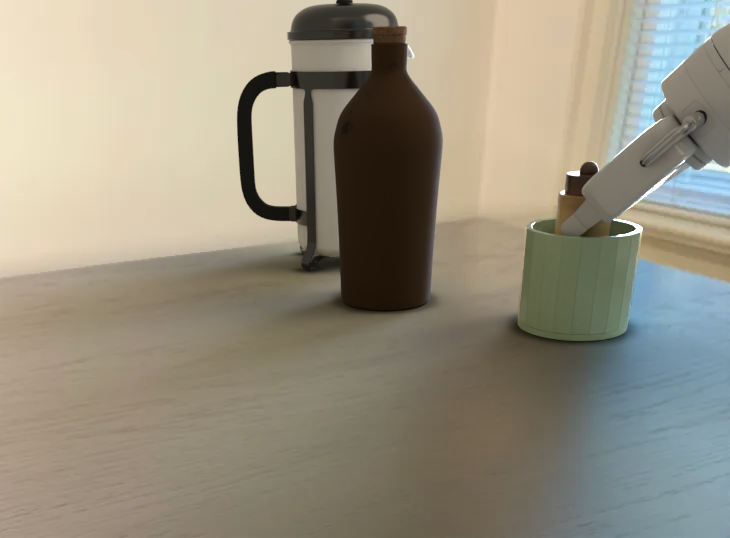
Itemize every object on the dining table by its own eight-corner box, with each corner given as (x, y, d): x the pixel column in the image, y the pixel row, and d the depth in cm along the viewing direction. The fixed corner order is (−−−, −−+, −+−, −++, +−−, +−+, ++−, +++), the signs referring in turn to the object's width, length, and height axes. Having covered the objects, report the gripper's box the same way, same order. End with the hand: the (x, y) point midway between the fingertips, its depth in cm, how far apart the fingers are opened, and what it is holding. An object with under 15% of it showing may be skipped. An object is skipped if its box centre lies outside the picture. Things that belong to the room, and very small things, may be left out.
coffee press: (342, 242, 120) (340, -19, 105) (431, 259, 110) (442, -28, 95) (241, 263, 110) (223, -23, 95) (328, 284, 100) (323, -32, 85)
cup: (616, 311, 88) (630, 216, 84) (636, 342, 79) (653, 237, 75) (513, 310, 89) (521, 216, 85) (522, 340, 80) (531, 237, 76)
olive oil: (413, 317, 88) (422, 25, 75) (318, 306, 92) (311, 27, 79) (450, 292, 96) (463, 25, 83) (360, 283, 100) (361, 27, 88)
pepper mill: (596, 289, 85) (613, 157, 79) (604, 302, 80) (623, 164, 75) (545, 288, 85) (558, 158, 79) (550, 301, 81) (565, 164, 75)
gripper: (719, 155, 63) (567, 280, 72) (749, 129, 79) (621, 235, 88) (664, 84, 63) (518, 219, 72) (706, 73, 79) (582, 185, 88)
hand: (575, 228), depth 80 cm, fingers closed on pepper mill, 5 cm apart
